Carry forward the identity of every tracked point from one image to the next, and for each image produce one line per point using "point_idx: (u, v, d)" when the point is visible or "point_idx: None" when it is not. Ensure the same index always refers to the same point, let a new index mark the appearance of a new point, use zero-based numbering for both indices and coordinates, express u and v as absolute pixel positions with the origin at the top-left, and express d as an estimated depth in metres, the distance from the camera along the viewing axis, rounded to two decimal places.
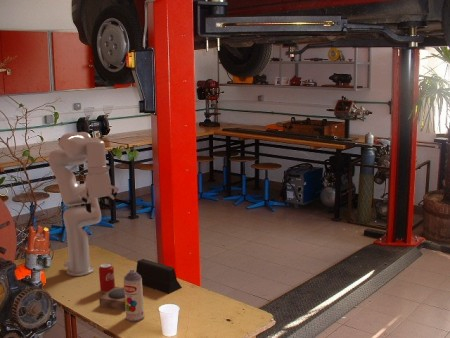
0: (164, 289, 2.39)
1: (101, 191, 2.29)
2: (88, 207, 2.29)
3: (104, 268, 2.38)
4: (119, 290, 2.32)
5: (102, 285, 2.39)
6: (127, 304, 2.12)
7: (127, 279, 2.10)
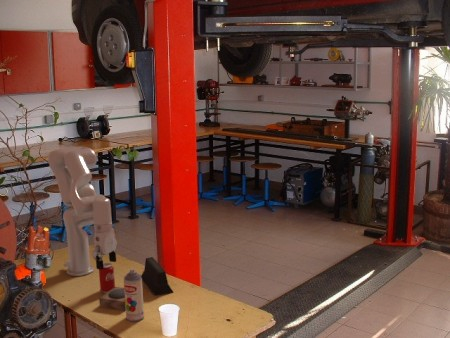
0: (153, 290, 2.38)
1: None
2: None
3: (104, 268, 2.38)
4: (119, 290, 2.32)
5: (102, 285, 2.39)
6: (127, 304, 2.12)
7: (127, 279, 2.10)
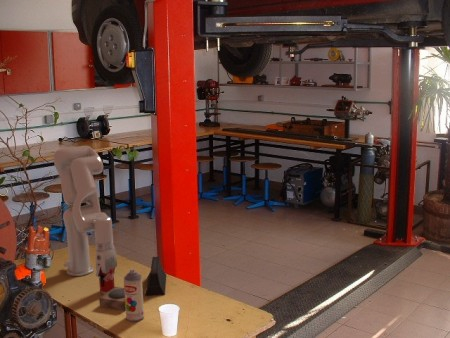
0: (146, 290, 2.39)
1: None
2: None
3: None
4: (119, 290, 2.32)
5: None
6: (127, 304, 2.12)
7: (127, 279, 2.10)
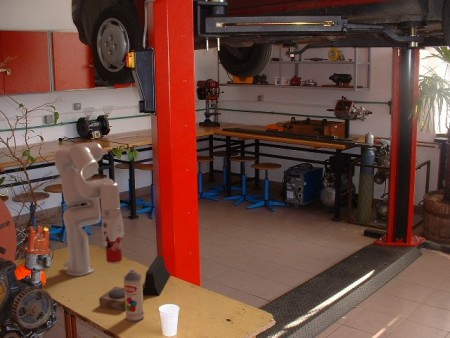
0: None
1: None
2: None
3: None
4: (119, 290, 2.32)
5: (109, 255, 2.25)
6: (127, 304, 2.12)
7: (127, 279, 2.10)
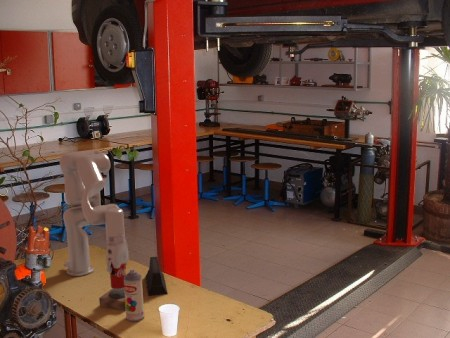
0: (148, 290, 2.39)
1: None
2: None
3: None
4: (119, 290, 2.32)
5: (113, 282, 2.24)
6: (127, 304, 2.12)
7: (127, 279, 2.10)
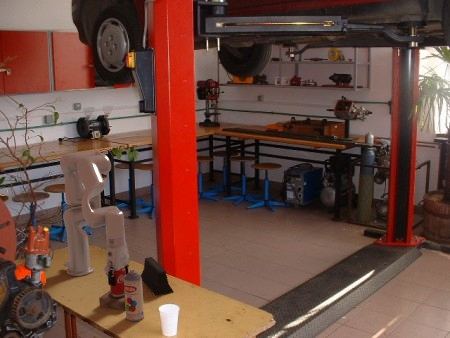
0: (154, 290, 2.38)
1: None
2: None
3: None
4: None
5: (113, 288, 2.24)
6: (127, 304, 2.12)
7: (127, 279, 2.10)
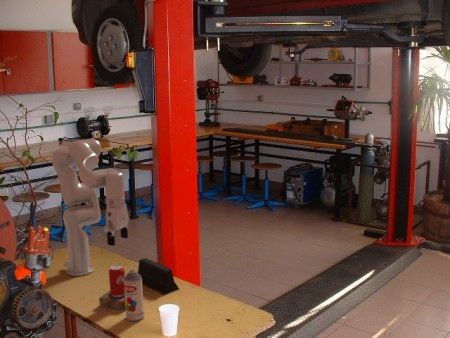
0: (160, 289, 2.39)
1: None
2: None
3: (115, 270, 2.22)
4: None
5: (113, 289, 2.24)
6: (127, 304, 2.12)
7: (127, 279, 2.10)
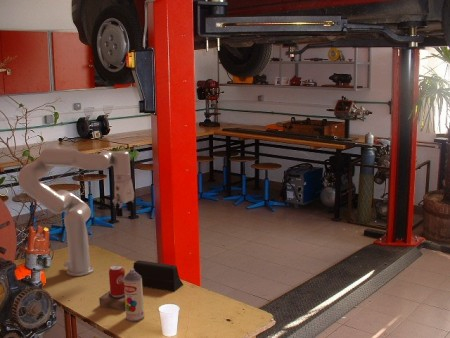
0: (168, 287, 2.41)
1: None
2: None
3: (115, 270, 2.22)
4: None
5: (113, 289, 2.24)
6: (127, 304, 2.12)
7: (127, 279, 2.10)
